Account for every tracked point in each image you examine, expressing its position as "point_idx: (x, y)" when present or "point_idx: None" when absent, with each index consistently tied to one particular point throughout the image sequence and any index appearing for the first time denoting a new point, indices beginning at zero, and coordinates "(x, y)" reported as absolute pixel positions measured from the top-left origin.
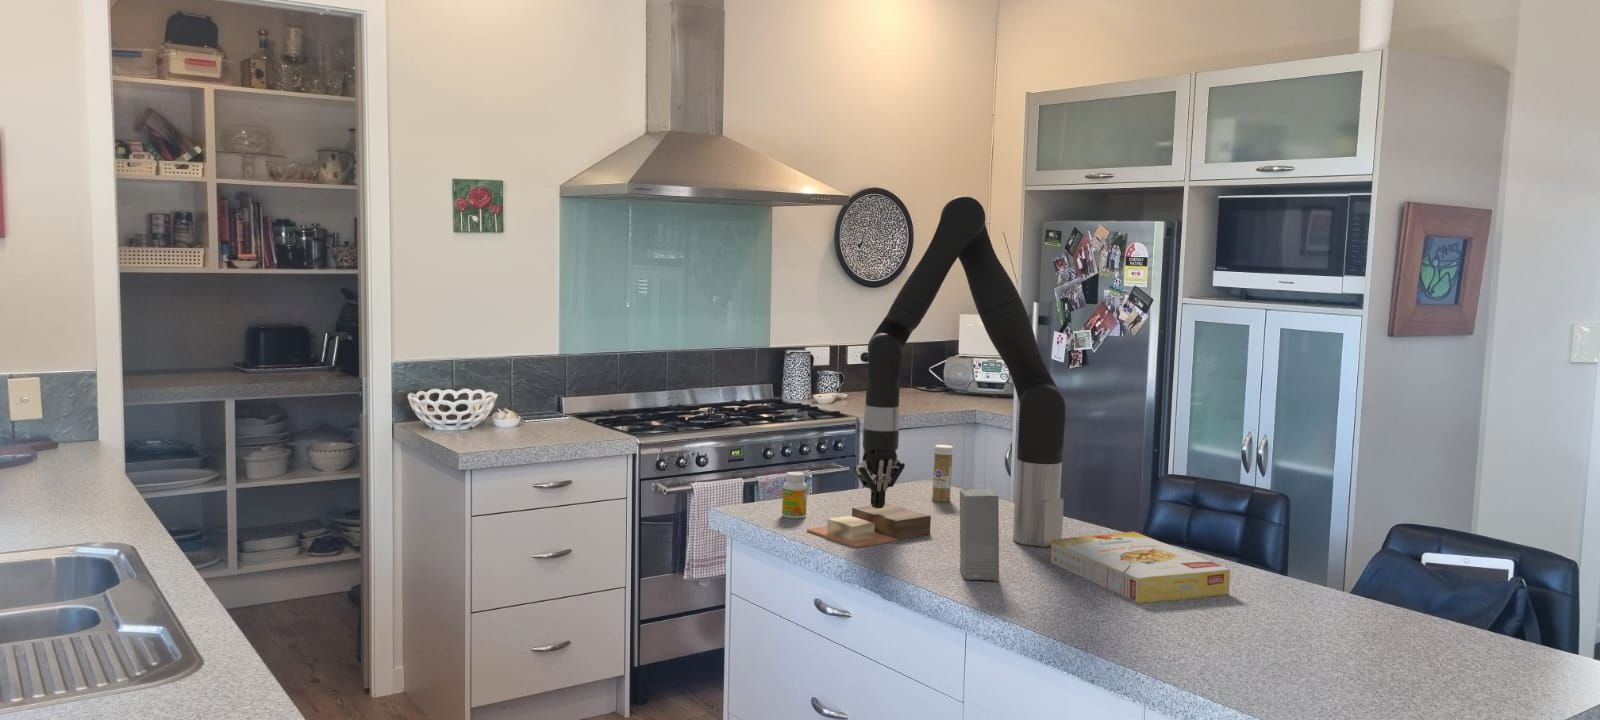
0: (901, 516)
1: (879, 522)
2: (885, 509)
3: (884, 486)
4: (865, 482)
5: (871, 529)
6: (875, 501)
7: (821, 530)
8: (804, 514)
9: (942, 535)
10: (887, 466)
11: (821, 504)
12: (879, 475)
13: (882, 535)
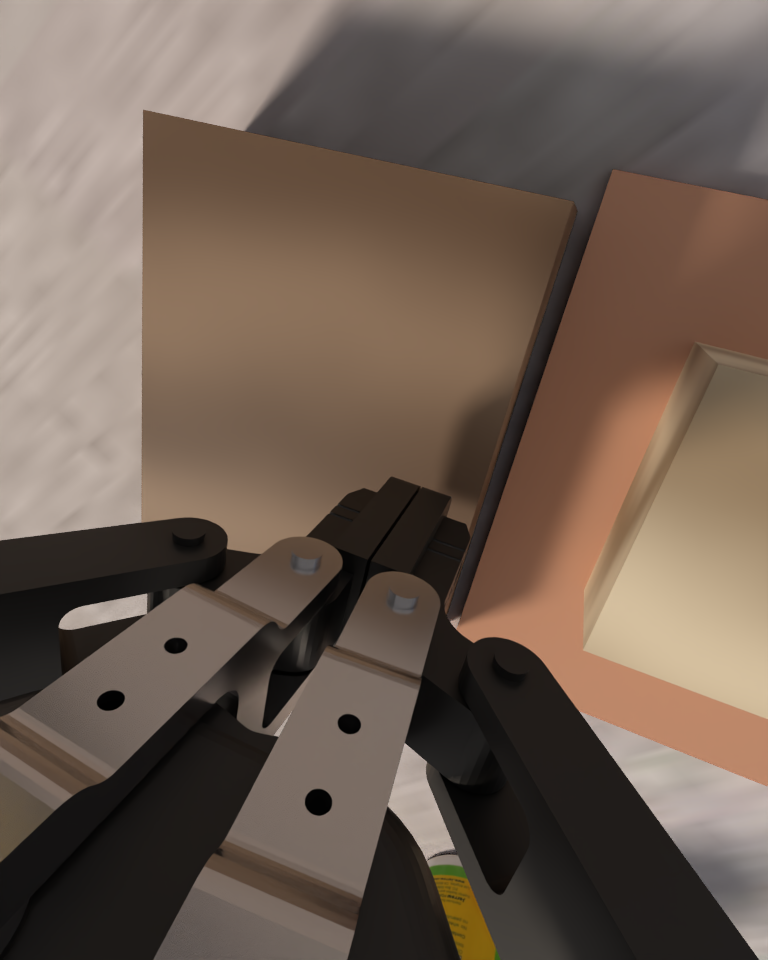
0: (366, 286)
1: (506, 420)
2: (271, 516)
3: (312, 573)
4: (492, 801)
5: (744, 364)
6: (458, 547)
7: (738, 710)
8: (460, 868)
9: (193, 45)
10: (89, 787)
11: None
12: (380, 734)
13: (583, 330)
